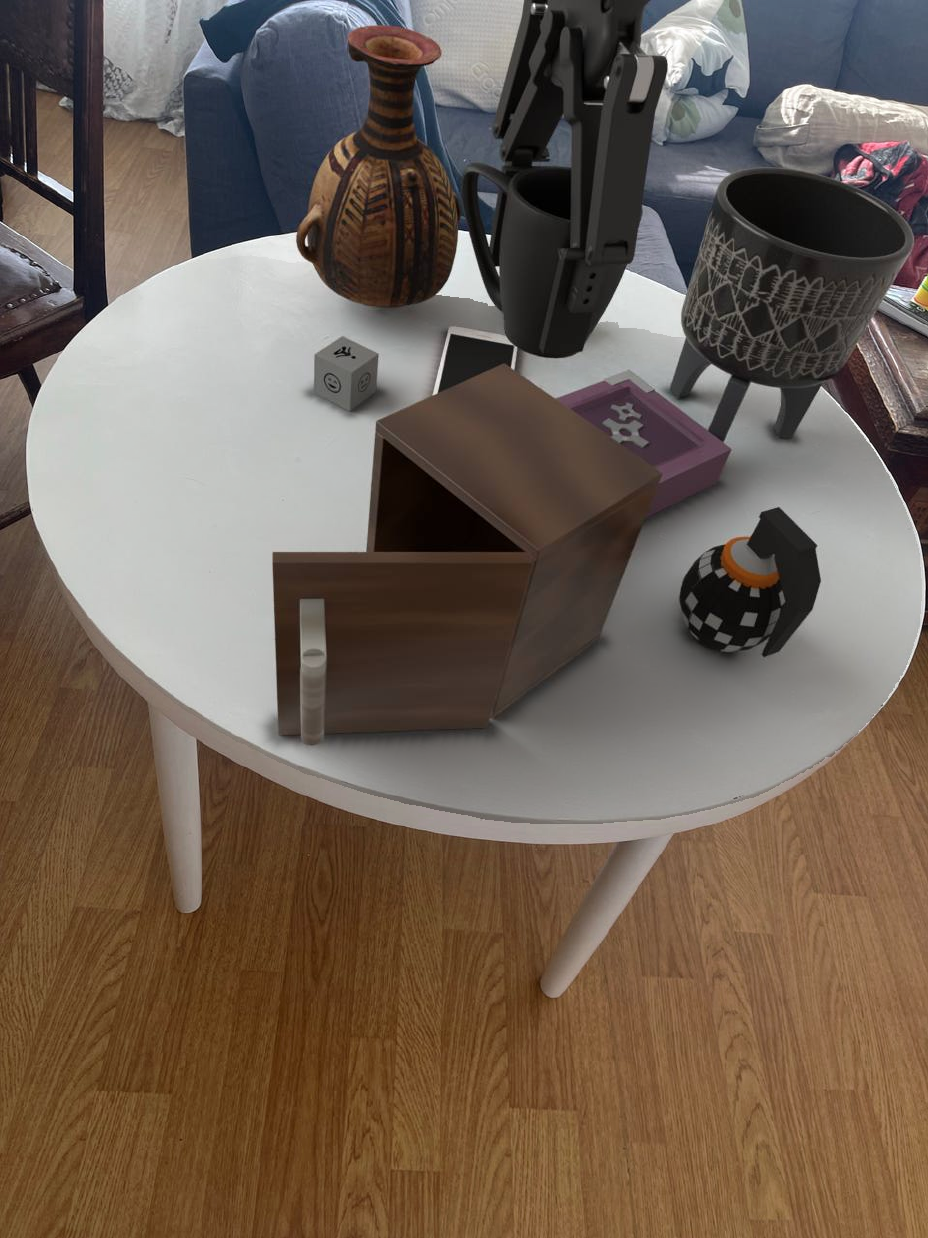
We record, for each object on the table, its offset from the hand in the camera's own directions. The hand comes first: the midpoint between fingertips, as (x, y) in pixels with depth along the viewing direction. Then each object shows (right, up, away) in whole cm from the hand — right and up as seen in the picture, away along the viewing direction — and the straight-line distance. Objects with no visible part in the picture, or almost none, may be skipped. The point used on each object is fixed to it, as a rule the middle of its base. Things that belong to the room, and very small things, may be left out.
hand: (532, 304), depth 60 cm
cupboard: (-3, -21, +23) cm, 31 cm away
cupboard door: (-11, -32, +12) cm, 36 cm away
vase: (-16, +19, +56) cm, 61 cm away
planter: (+26, +2, +48) cm, 55 cm away
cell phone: (-3, +8, +48) cm, 49 cm away
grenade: (+20, -23, +25) cm, 40 cm away
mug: (-1, -1, +2) cm, 2 cm away
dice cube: (-18, +5, +43) cm, 47 cm away
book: (+9, -6, +39) cm, 40 cm away
